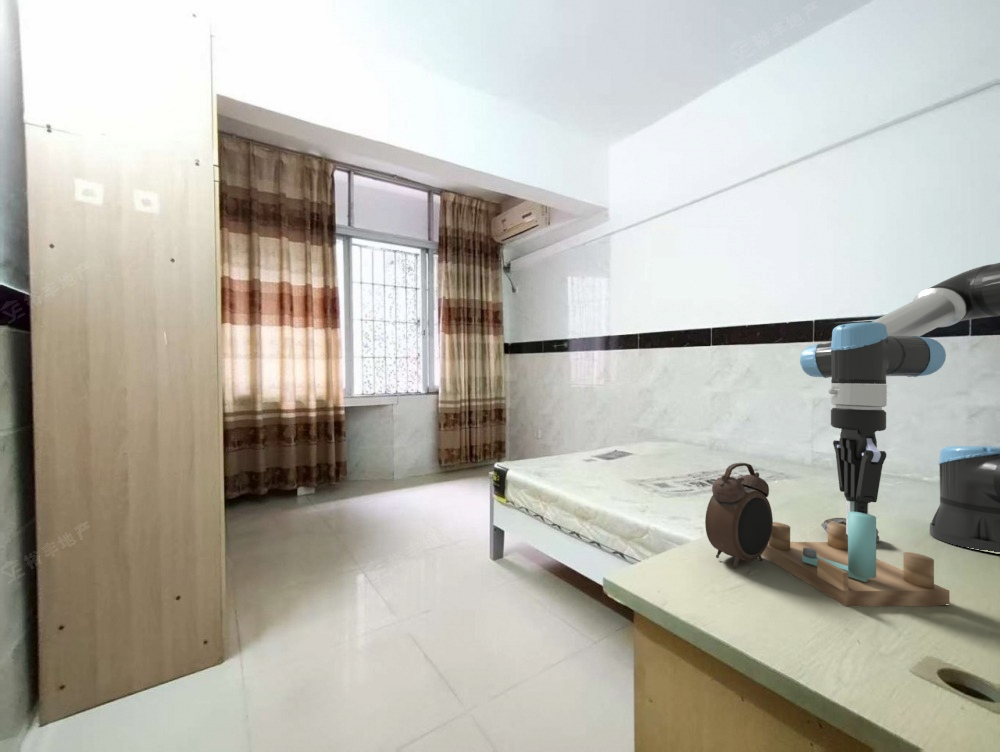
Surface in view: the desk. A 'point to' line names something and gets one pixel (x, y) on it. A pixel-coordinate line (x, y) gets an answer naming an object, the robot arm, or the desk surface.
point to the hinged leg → (855, 548)
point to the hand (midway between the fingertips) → (856, 535)
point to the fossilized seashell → (841, 521)
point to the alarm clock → (739, 515)
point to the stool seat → (880, 591)
